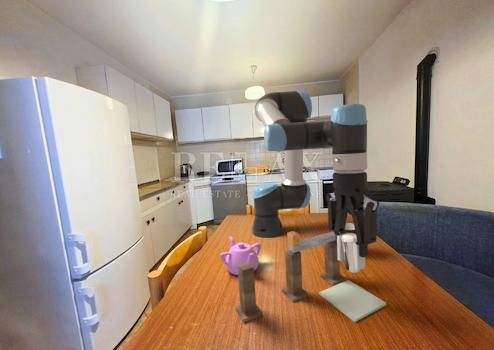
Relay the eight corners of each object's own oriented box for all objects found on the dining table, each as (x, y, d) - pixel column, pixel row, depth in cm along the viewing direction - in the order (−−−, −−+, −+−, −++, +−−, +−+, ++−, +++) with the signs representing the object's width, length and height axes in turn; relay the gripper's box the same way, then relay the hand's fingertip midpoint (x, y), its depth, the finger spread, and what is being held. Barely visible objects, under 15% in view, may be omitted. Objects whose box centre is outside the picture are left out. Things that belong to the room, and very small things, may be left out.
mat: (319, 294, 58) (319, 292, 58) (348, 281, 63) (348, 279, 63) (354, 322, 48) (354, 319, 48) (386, 305, 53) (386, 302, 53)
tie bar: (288, 249, 59) (287, 232, 58) (336, 235, 66) (336, 220, 65) (293, 253, 56) (292, 235, 56) (343, 237, 64) (342, 222, 63)
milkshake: (336, 266, 56) (334, 229, 56) (355, 263, 57) (354, 227, 56) (345, 275, 52) (344, 235, 51) (366, 273, 52) (365, 233, 52)
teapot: (254, 281, 66) (253, 253, 65) (215, 274, 71) (213, 248, 70) (266, 261, 77) (264, 238, 76) (231, 257, 82) (229, 234, 81)
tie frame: (235, 309, 54) (232, 264, 53) (332, 272, 68) (331, 235, 67) (243, 322, 50) (240, 274, 49) (345, 280, 64) (344, 241, 62)
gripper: (312, 171, 58) (314, 253, 61) (373, 175, 42) (374, 286, 45) (332, 168, 61) (334, 247, 64) (397, 171, 46) (396, 276, 48)
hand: (350, 263), depth 54 cm, fingers closed on milkshake, 4 cm apart
